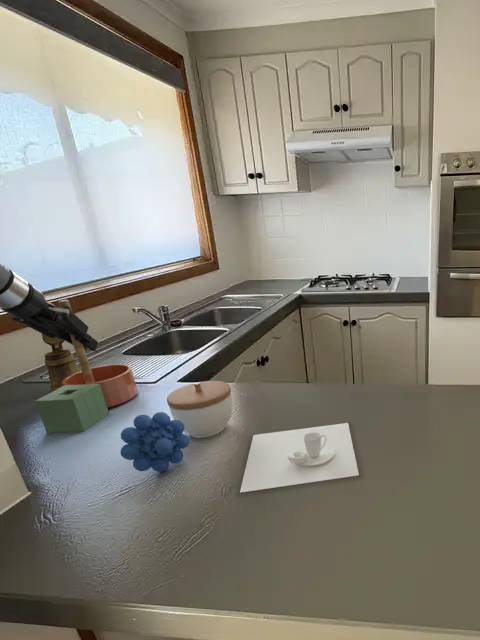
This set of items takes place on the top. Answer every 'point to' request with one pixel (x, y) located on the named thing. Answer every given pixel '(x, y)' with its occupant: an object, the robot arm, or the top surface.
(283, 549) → the top surface
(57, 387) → the wooden barrel with disc
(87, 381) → the stick
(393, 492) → the top surface
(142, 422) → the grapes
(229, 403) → the lidded bowl
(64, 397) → the stick stand
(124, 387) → the mixing bowl
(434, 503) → the top surface
